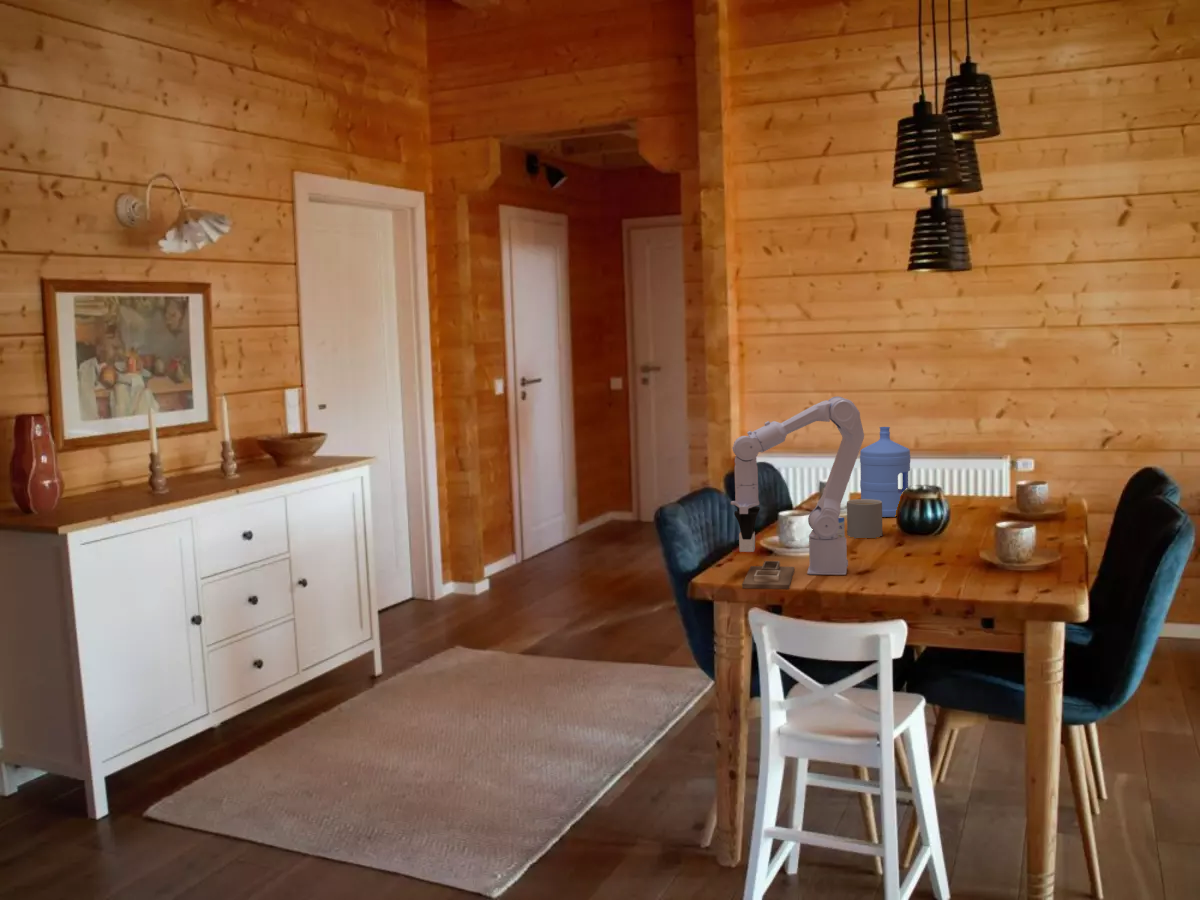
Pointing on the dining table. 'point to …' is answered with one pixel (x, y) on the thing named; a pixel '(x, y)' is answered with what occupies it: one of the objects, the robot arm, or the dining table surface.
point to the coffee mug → (864, 518)
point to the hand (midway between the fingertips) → (747, 537)
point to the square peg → (747, 543)
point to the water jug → (884, 472)
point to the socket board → (769, 576)
